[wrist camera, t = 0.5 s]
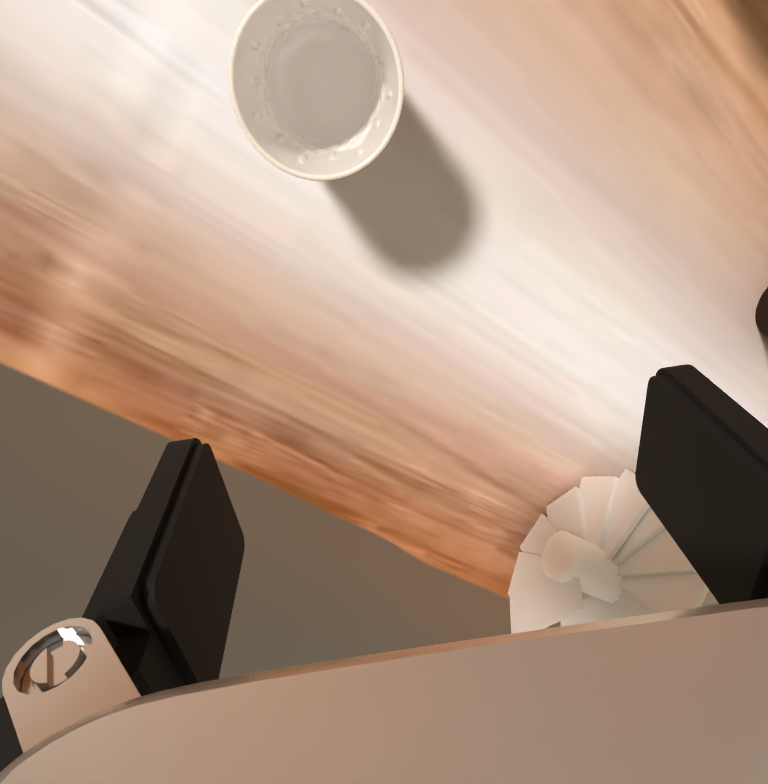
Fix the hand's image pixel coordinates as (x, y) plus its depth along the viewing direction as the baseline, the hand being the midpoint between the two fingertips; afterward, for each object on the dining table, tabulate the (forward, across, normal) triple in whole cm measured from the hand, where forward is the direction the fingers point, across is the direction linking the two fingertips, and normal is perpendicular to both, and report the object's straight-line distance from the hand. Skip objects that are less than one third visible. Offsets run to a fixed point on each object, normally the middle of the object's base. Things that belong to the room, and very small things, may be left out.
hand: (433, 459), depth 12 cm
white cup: (+29, +2, -7) cm, 30 cm away
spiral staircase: (+29, -21, +36) cm, 51 cm away
